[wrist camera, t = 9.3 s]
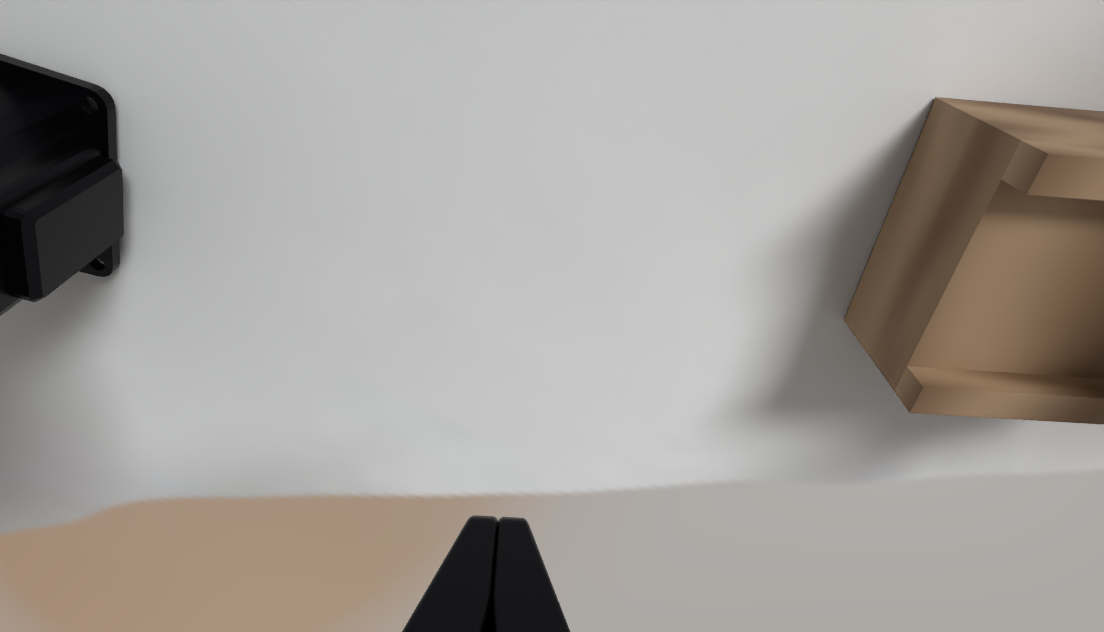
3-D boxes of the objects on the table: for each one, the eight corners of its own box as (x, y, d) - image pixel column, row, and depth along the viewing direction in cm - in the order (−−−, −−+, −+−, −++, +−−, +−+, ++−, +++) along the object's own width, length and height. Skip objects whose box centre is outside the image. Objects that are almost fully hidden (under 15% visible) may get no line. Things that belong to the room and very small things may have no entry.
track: (843, 320, 23) (909, 413, 19) (935, 97, 18) (1048, 153, 14) (1102, 337, 23) (1222, 431, 19) (1252, 124, 19) (1450, 186, 15)
